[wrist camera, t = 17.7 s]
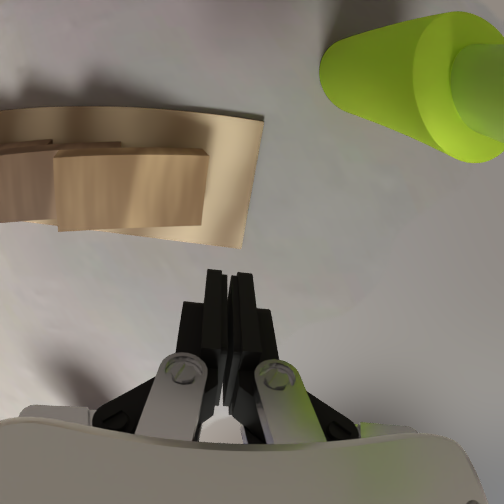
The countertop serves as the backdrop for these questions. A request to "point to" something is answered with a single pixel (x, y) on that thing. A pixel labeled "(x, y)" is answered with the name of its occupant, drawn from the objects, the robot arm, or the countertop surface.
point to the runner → (162, 136)
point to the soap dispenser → (425, 82)
